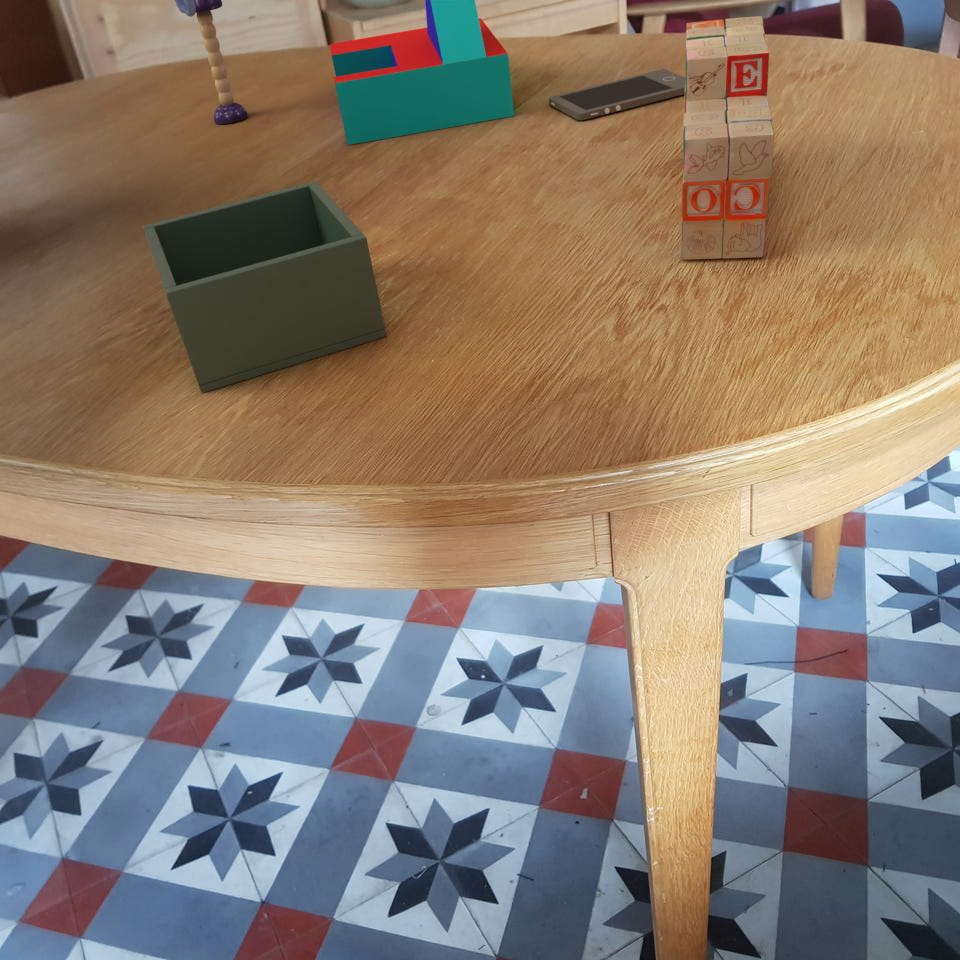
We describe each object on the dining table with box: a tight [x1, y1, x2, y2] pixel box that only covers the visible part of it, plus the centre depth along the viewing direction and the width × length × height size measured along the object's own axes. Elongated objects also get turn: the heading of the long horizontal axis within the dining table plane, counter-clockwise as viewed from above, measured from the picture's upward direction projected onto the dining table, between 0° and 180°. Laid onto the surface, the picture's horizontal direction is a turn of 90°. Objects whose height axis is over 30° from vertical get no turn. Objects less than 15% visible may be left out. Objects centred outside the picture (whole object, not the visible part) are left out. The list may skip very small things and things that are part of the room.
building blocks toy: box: [329, 0, 515, 146], centre depth 110 cm, size 19×25×18 cm
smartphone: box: [548, 68, 686, 121], centre depth 105 cm, size 15×8×1 cm, turn 111°
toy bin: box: [142, 180, 388, 394], centre depth 70 cm, size 14×14×8 cm
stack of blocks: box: [680, 15, 775, 260], centre depth 76 cm, size 21×6×12 cm, turn 169°
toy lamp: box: [184, 0, 249, 125], centre depth 114 cm, size 5×5×17 cm
